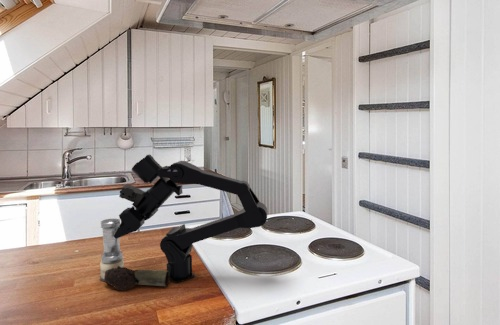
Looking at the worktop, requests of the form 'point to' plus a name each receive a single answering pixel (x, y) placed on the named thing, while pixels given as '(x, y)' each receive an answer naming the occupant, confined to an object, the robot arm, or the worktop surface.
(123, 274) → the brown and green club
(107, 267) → the fitting stand
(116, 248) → the metal knob
